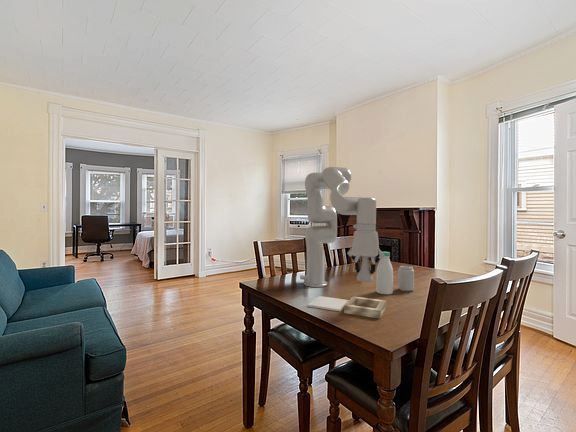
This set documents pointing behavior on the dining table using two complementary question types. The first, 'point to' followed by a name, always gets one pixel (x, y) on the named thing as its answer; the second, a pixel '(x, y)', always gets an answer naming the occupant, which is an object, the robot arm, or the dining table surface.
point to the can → (406, 278)
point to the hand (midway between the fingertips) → (365, 272)
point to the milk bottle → (384, 275)
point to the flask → (365, 271)
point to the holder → (365, 311)
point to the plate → (328, 303)
